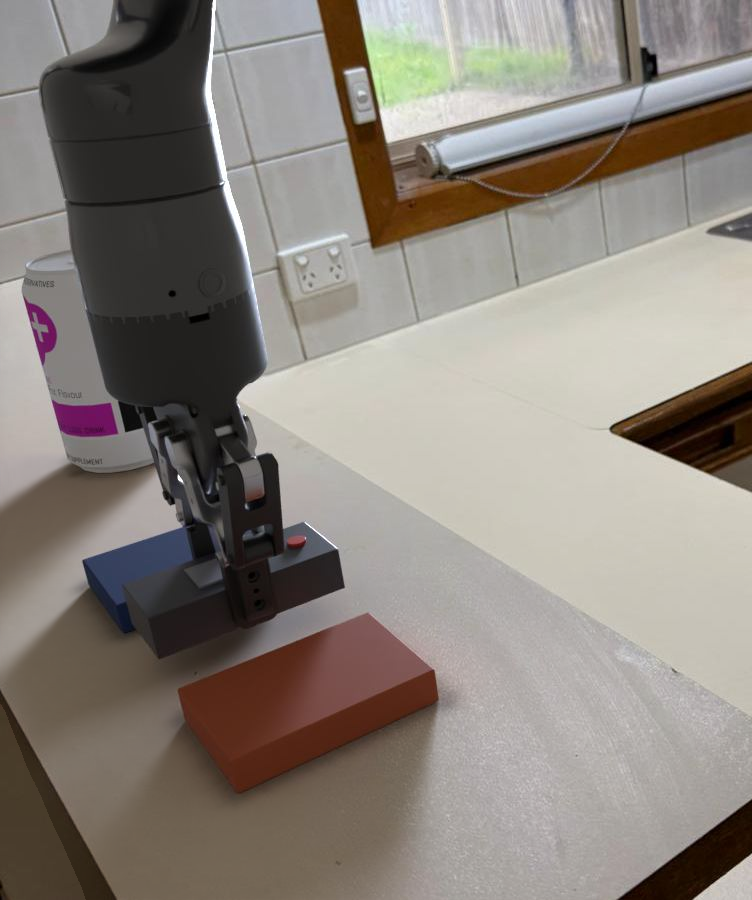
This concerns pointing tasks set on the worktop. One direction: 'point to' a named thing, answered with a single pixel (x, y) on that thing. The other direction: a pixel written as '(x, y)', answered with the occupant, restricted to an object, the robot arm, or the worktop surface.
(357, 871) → the worktop surface
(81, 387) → the supplement can
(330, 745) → the red rectangular block
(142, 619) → the remote
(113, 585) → the blue flat block
